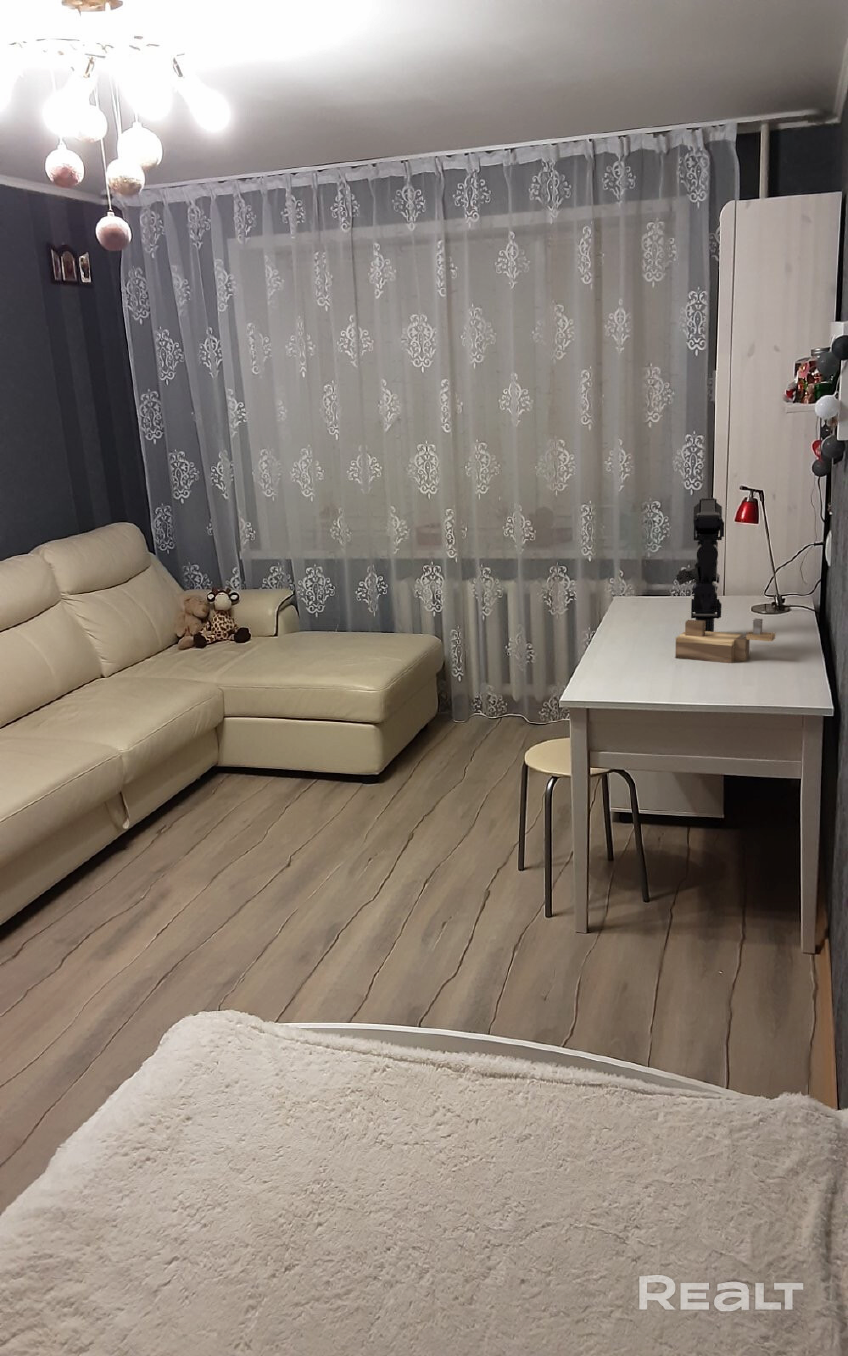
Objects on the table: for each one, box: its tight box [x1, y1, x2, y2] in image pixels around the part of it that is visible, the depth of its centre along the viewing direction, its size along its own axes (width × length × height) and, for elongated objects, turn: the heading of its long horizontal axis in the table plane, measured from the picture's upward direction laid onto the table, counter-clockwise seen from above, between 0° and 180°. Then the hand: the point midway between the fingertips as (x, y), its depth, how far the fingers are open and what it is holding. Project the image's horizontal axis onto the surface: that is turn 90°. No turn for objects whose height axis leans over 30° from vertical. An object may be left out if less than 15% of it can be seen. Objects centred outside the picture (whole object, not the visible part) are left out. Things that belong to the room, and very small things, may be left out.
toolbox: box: [674, 635, 751, 664], centre depth 305 cm, size 11×19×6 cm, turn 60°
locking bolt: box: [746, 617, 776, 642], centre depth 296 cm, size 4×7×6 cm, turn 60°
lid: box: [675, 619, 743, 646], centre depth 304 cm, size 11×16×5 cm
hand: (705, 612), depth 303 cm, fingers closed
